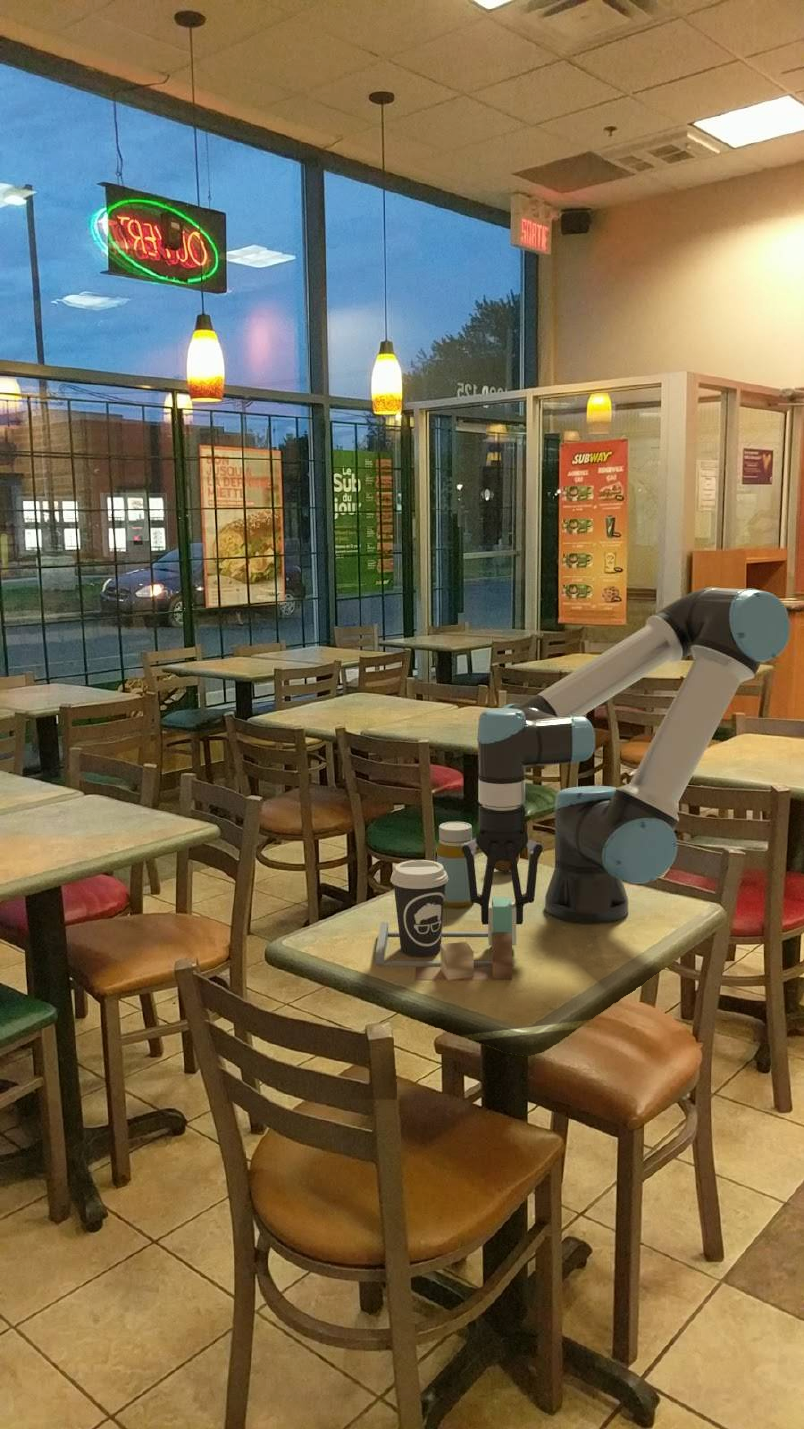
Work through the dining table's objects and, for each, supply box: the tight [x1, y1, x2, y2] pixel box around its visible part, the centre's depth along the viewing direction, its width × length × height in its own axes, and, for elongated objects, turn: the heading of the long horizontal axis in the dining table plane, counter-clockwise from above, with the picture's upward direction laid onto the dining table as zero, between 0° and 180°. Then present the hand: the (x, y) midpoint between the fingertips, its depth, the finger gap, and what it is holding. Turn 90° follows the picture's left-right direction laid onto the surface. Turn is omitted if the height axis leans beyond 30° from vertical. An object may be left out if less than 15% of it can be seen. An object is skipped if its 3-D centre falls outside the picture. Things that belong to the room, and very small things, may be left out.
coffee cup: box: [390, 859, 449, 958], centre depth 174 cm, size 10×10×15 cm
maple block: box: [440, 941, 475, 981], centre depth 165 cm, size 4×4×4 cm
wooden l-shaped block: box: [414, 932, 513, 981], centre depth 165 cm, size 15×5×7 cm, turn 87°
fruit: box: [494, 853, 521, 874], centre depth 216 cm, size 6×6×8 cm
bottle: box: [436, 821, 475, 909], centre depth 198 cm, size 7×7×15 cm
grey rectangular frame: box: [375, 896, 514, 967], centre depth 174 cm, size 22×14×9 cm, turn 87°
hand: (502, 942), depth 174 cm, fingers closed on grey rectangular frame, 3 cm apart
